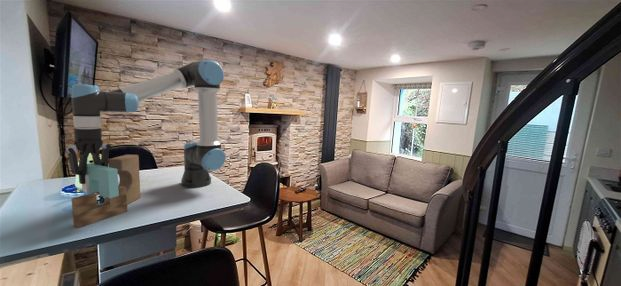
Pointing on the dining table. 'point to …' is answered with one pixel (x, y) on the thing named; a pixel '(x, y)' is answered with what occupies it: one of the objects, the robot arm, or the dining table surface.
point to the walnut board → (97, 208)
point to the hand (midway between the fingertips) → (92, 190)
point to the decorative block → (128, 174)
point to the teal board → (102, 180)
